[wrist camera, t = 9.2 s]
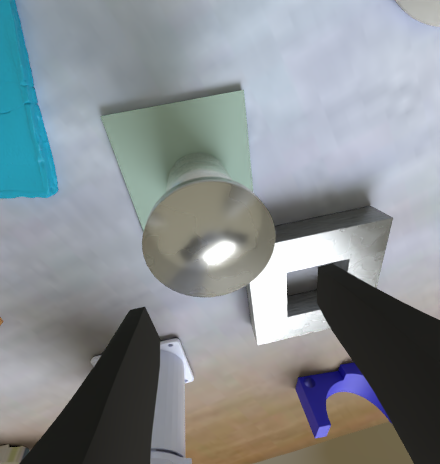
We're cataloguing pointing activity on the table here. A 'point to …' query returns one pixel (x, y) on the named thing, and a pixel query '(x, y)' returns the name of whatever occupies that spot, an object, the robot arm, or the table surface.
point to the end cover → (207, 231)
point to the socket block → (309, 255)
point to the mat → (178, 143)
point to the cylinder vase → (422, 10)
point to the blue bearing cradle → (326, 384)
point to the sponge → (21, 118)
